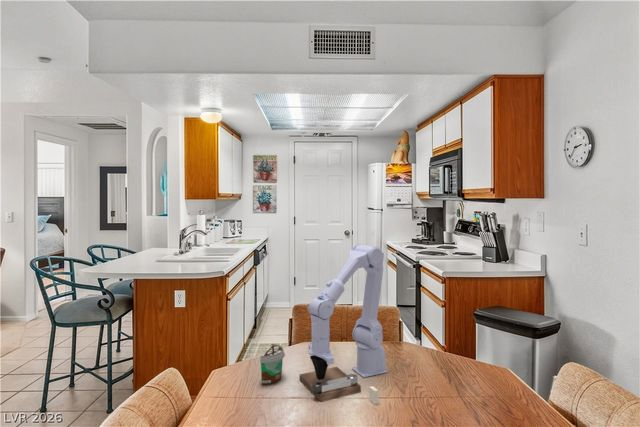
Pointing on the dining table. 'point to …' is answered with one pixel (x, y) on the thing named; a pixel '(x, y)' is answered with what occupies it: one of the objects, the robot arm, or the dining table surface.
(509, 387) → the dining table surface
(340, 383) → the folding leg
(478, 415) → the dining table surface
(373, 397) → the block
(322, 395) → the stool seat
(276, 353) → the food container
